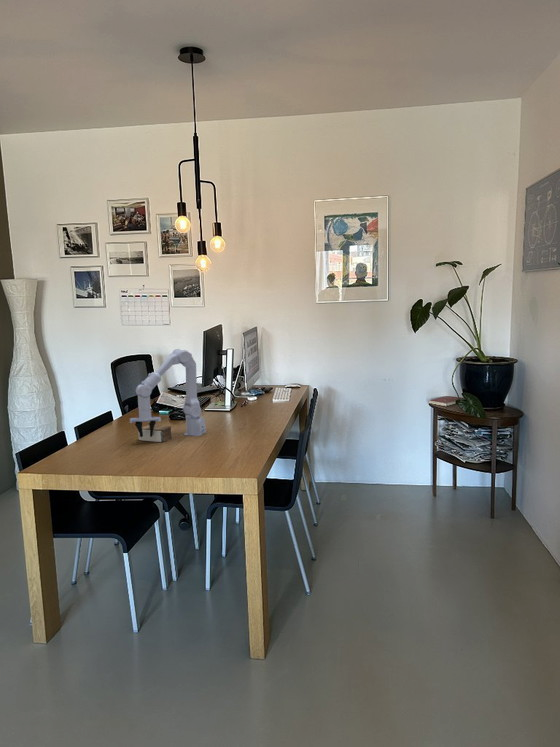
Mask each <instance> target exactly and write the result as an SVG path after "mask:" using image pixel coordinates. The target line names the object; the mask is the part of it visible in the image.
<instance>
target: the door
mask: <svg viewBox="0 0 560 747" xmlns="http://www.w3.org/2000/svg"><path fill="white" fill-rule="evenodd" d="M142 431H143V437H140V433H139V431H138V430H137V432H138V433H137V435H138V441H144V442H157V443H158V442H159V443H163V442H162V441H163V437H162V436H163V432H161V431H153V436H152V437H150V430H142Z"/></svg>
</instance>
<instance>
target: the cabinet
mask: <svg viewBox="0 0 560 747" xmlns="http://www.w3.org/2000/svg"><path fill="white" fill-rule="evenodd" d="M142 430H150V426H149V424H146V425H142ZM153 431H161V432H163V436H162V437H163V441H162V442H161V443H164V442H166V441H168V440H171V439H172V426H171V425H159V424H158V425H156V424H155V426H154V429H153Z"/></svg>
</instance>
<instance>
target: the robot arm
mask: <svg viewBox="0 0 560 747" xmlns="http://www.w3.org/2000/svg"><path fill="white" fill-rule="evenodd" d="M175 365H176V366H177V365H182V366H183V367H184V368H185V393H186V394H185V400H184V405H183V406H182V412H183V413H184V414H185V416H184V417H185V425H186V426H185V427H186V432H184V433H183V434H182V435H183V436H193V437H200V436H202V435H204V434H207V429H206V428H207V426H206V419H205V417H203V416H201V415H202V408H201V406H200V404H201V403H200V401H199V399H198V393H197V392H198V387H197V386H198V385H197V382H198V381H197V363H196V361H195V360H194V357H193V354H192V353H191V352H189V351H188V350H185V349H179V348H177V349H174V350H173V351H172V352H171V353H169V355H168V356H167V358H166V359H165V361H163V363H162V364H161V365H160V366H159V368H157V370H156V371H152V372H151V373H150V372H149V373H148V375H147V377H146V378H145V379H144V380H143V381H141V383H140V384H138V385H137V386H136V388H135V393H136V395H137V405H138V417H131V418H129V424H132V423H134V425H135V427H136V429H137V432H138V431H139V433H140V437H143V431H142V427H143V423H149V424H148V425H149V426H150V437H152V436H153V429H154V426H155V425H156V423H157V422H158V423H159V422H162V418H161V416H152V407H151V394H152V392H153V390H154V389H155V387H156V386H157V385H158V384H159V383H160V382H161V381H162V376H163V375H164V374H165V373H166V372H168V370H170V368H172V367H173V366H175Z"/></svg>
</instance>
